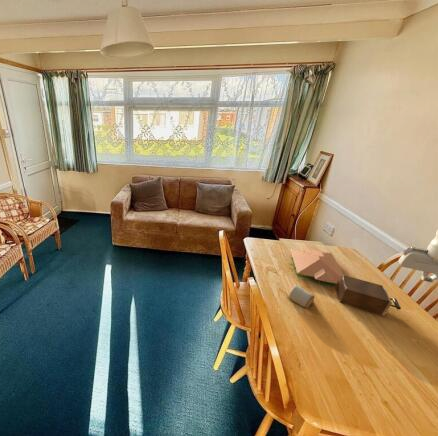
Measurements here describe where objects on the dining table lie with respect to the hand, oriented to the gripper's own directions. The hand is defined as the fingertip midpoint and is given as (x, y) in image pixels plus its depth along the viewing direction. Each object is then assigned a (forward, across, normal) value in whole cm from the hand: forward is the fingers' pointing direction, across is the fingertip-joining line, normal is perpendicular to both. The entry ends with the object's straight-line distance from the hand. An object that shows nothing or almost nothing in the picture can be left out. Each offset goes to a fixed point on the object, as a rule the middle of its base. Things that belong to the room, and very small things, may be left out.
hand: (426, 280), depth 96 cm
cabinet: (+18, -18, -4) cm, 26 cm away
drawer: (+17, -15, -4) cm, 23 cm away
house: (+18, -34, +17) cm, 42 cm away
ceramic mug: (+18, -41, -17) cm, 48 cm away
